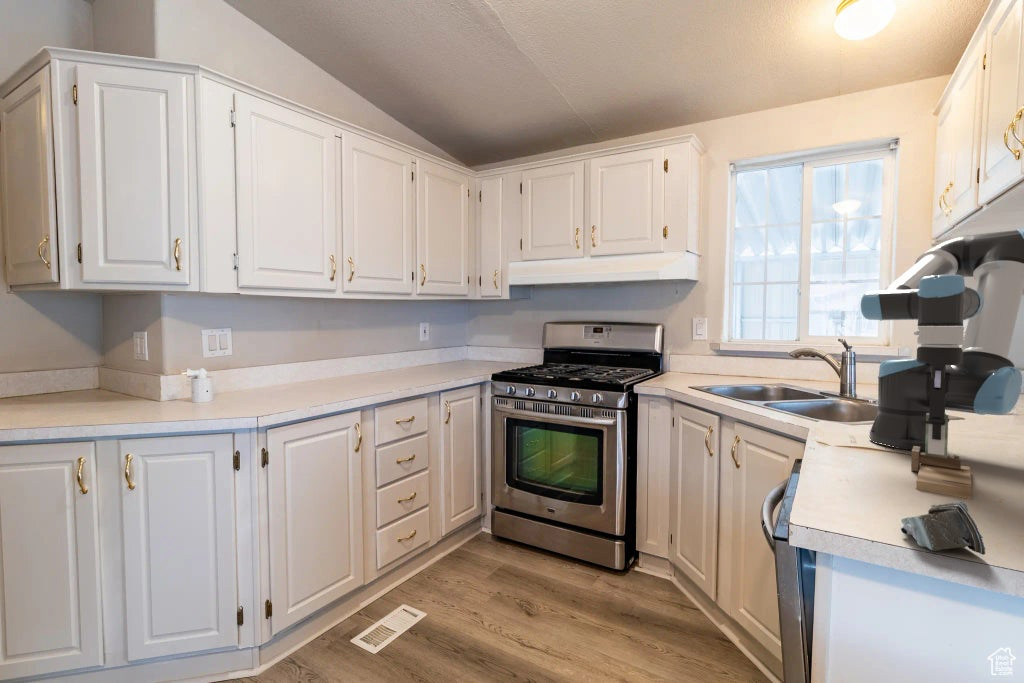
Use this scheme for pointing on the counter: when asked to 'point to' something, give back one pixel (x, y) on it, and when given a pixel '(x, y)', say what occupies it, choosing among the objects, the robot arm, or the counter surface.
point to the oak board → (945, 480)
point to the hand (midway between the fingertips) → (936, 452)
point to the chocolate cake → (945, 528)
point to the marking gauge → (934, 458)
